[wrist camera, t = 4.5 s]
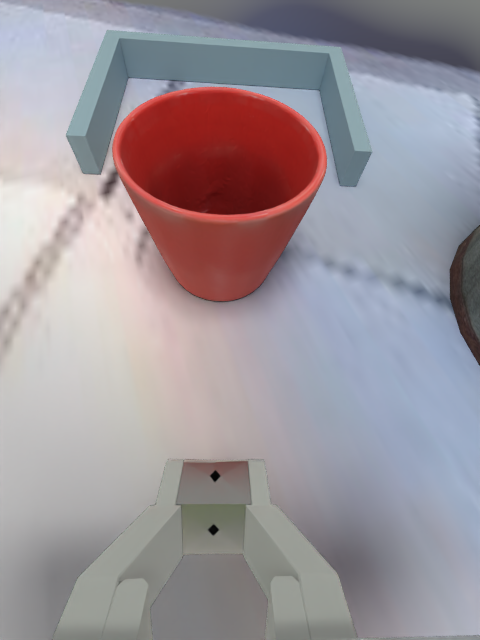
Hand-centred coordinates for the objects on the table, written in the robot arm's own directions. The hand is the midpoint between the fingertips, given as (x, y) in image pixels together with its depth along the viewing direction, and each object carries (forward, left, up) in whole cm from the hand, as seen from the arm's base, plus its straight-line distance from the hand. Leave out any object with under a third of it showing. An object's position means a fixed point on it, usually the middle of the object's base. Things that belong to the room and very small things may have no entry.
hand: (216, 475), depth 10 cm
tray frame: (0, +32, -9) cm, 33 cm away
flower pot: (0, +15, -9) cm, 18 cm away
